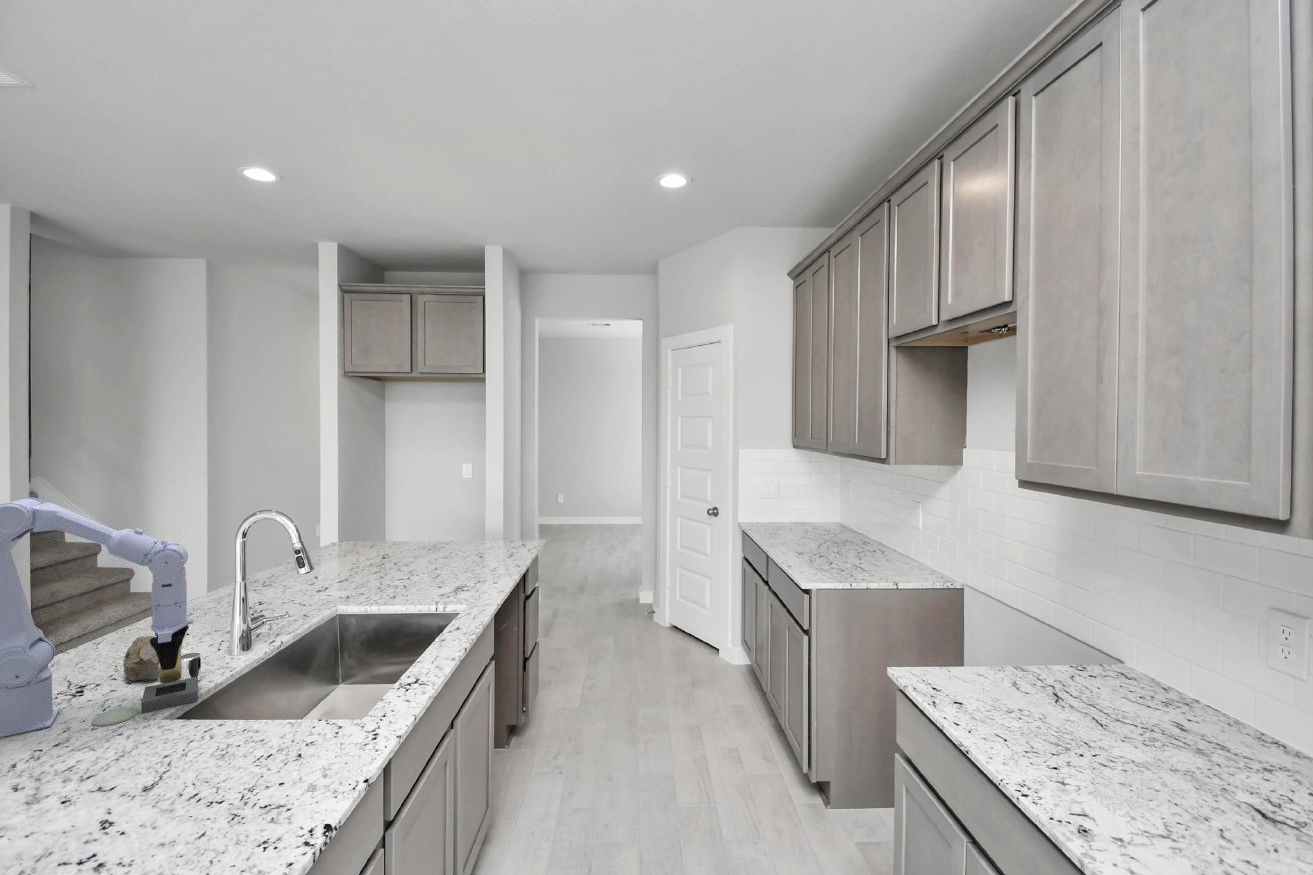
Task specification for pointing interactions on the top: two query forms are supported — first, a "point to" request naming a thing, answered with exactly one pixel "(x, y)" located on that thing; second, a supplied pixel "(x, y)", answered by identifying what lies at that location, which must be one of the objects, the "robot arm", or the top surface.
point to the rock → (141, 660)
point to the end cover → (171, 671)
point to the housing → (169, 694)
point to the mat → (115, 716)
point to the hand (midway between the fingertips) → (170, 665)
